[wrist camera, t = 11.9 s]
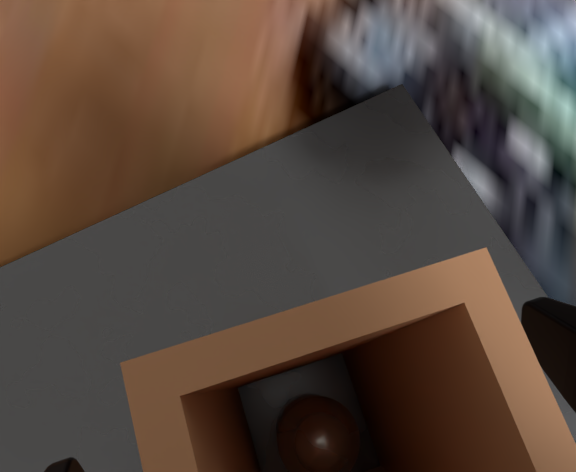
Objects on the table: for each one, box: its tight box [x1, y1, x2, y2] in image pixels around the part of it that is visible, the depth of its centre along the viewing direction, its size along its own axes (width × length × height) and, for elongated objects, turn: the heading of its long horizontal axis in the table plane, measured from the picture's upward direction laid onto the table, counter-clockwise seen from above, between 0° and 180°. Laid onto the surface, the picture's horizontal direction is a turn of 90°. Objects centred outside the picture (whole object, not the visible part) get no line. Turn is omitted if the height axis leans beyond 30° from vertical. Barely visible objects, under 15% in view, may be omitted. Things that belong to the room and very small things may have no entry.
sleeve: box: [120, 247, 576, 472], centre depth 11 cm, size 5×5×11 cm
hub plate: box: [0, 84, 576, 472], centre depth 14 cm, size 20×20×6 cm
